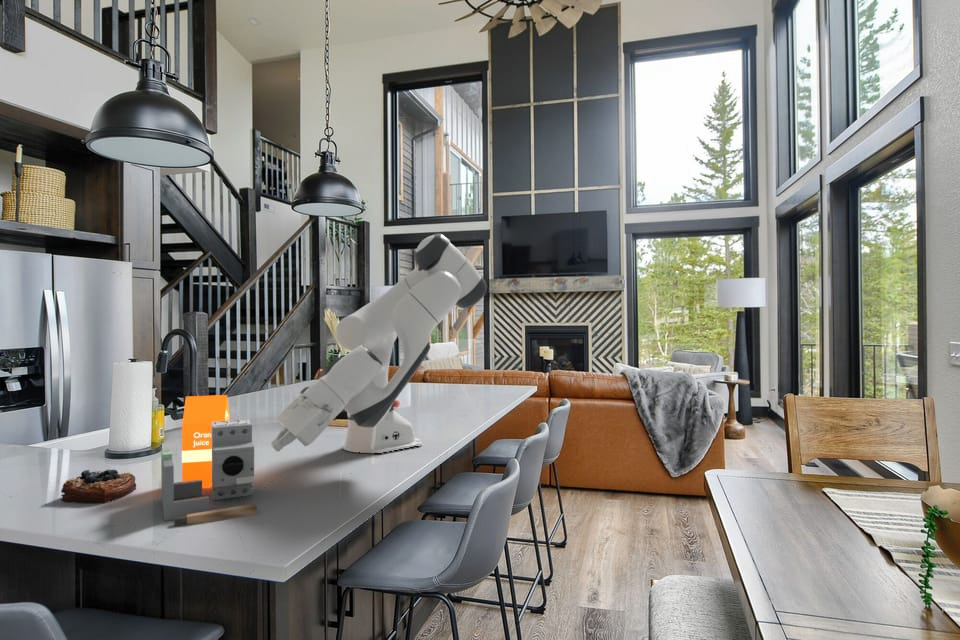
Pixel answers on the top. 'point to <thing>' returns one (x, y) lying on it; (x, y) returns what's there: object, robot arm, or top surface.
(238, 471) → the circuit breaker
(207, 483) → the orange juice
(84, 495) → the pastry
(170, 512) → the bay
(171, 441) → the top surface
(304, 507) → the top surface
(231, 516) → the stylus
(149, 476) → the top surface
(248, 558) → the top surface
